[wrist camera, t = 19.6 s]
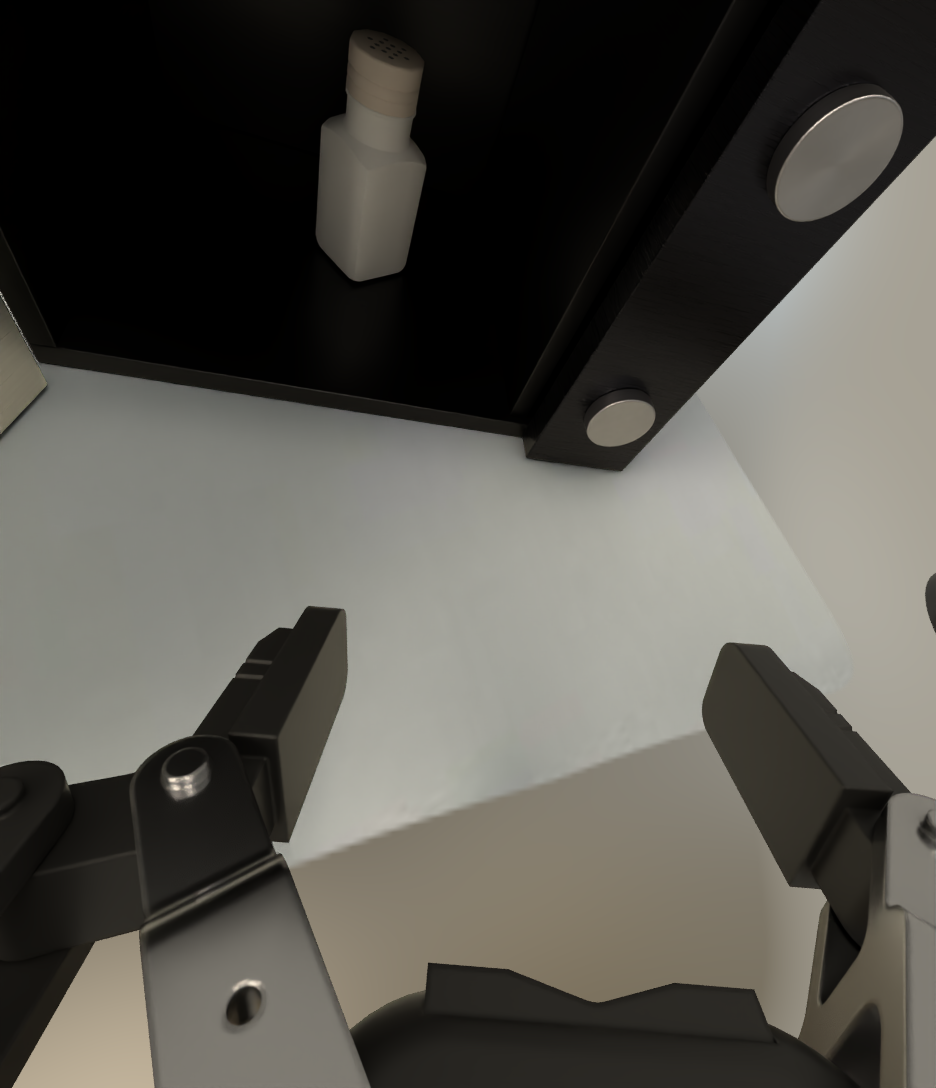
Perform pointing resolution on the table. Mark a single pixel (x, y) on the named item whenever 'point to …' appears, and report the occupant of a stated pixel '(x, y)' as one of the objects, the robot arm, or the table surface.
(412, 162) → the pepper shaker
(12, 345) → the microwave door
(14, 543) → the table surface
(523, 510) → the table surface
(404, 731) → the table surface
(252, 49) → the microwave
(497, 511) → the table surface
